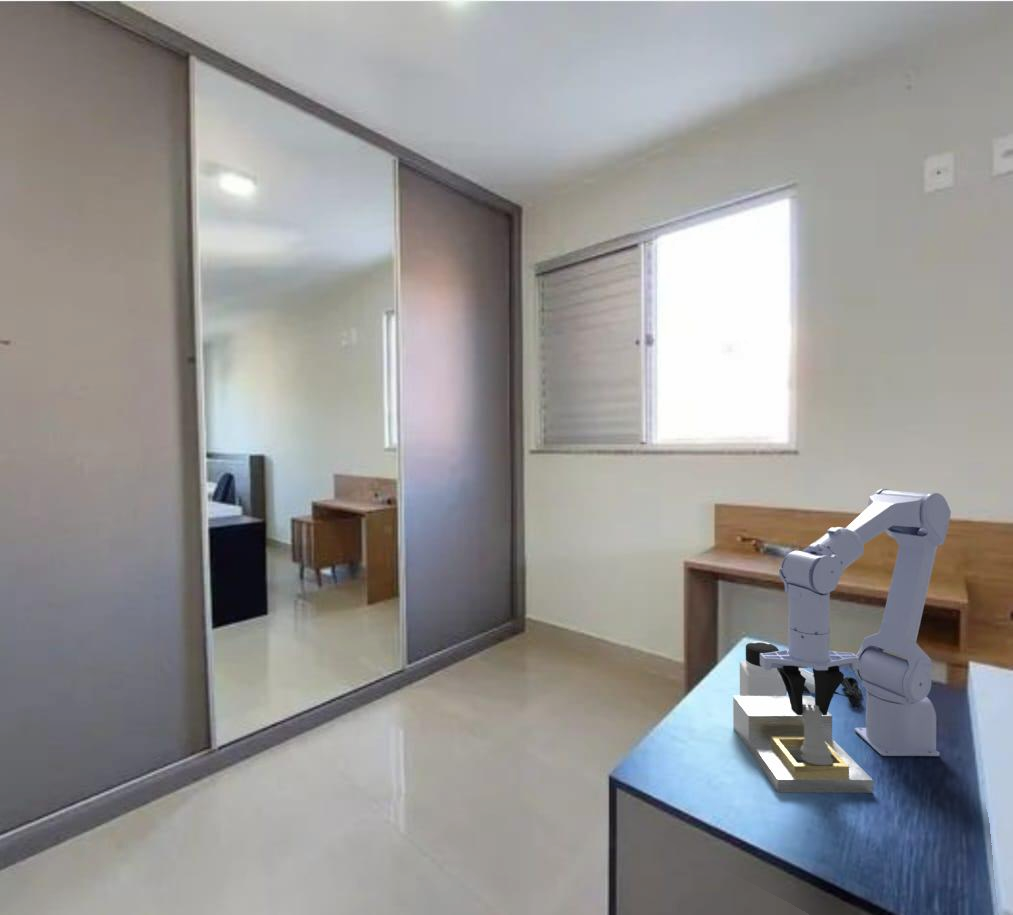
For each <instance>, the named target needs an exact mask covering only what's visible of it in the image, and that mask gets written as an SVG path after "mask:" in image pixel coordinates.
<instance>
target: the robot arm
mask: <svg viewBox="0 0 1013 915" xmlns="http://www.w3.org/2000/svg"><path fill="white" fill-rule="evenodd" d="M867 506H868V507H867V508H865V509H864V510H863V511H862V512H861V513H860V514H859V515H858V516H856V518H854V519H853V521H852V522H851V523H849V524H848V525H847V526H846V527H842V526H836V527H833V526H832V527H830V528H829V529H827V530H826V533H825V534H823V535H822V536H821V537H819V538H818V539H817V540H815V541H814V542H812V543H810V544H809V545H808V546H807V547H806V548H805V549H803V550H794V551H791V552H789V553H788V554H786V555H785V556H784V558H782V561H781V566H780V568H778V574H779V577H780V579H781V581H782V583H783V585H784V593H786V596H787V597H788V602H787V603H788V605H787V606H788V607H787V612H788V614H787V616H788V617H787V618H788V623H787V625H788V631H787V632H788V649H782V650H779V651H776V652H771V653H760V665H761V667H762V668H764V669H765V670H771V668H777V670H778V672H779V673H780V675H781V677H782V679H783V682H784V684H785V687H786V693H787V694H788V695H787V696H789V699H790V704H791V709H792V710H793V711H794V712H795V713H796V714H797V715H802V711H803V699H802V698H803V696H804V694H803V693H804V691H803V689H804V684H805V681H806V679H805V678H804V677H803V676H802V675H801V671H799V668H802V669H808V668H809V669H812V673H813V674H814V681H815V694H814V699H815V705H816V706H819V710H820V711H821V712H822V715H827V712H829V708H830V704H831V702H832V700H833V697H834V695H835V694H836V693H835V692H837V690H838V688H839V687H840V685H842V684H841V683H842V682H843V680H844V678H845V676H844V673H843V672H842V671H840V668H843V669H844V668H845V669H846V668H847V669H849V668H850V669H851V670H854V673H855V675H856V677H857V678H858V679H859V680H860V681H861V687H862V688H865V727H855V728H854V731H855V732H856V733H857V734H858V736H860V737H861V738H862V739H863V740H864V741H866V743H868V744H869V745H870V746H871V747H872V749H874V750H875V751H876V752H877V753H878V754H880V756H883V757H939V756H940V752H939V751H937V713H936V710H935V707H934V704H933V703H932V702H931V699H929V697H927V696H929V694H930V691H931V688H932V676H931V674H932V673H931V669H932V662H933V661H932V659H931V658H930V657H929V655H928V654H927V653H926V652H925V651H924V650H923V649H922V648H921V646H919V644H918V643H917V639H918V635H919V630H920V626H921V623H922V621H921V620H922V617H923V612H924V607H925V604H926V598H927V594H928V591H929V586H930V582H931V576H932V571H933V568H934V563H935V560H936V559H935V558H936V554H937V550H938V547H939V546H941V545H944V544H945V541H946V537H947V534H948V529H949V524H950V520H951V513H952V511H951V510H950V509H951V508H950V506H949V504H948V501H947V500H946V498H945V496H944V495H943V494H941V493H938V492H930V493H929V492H917V491H905V490H897V489H896V490H895V489H888V488H881V489H878V490H876V492H874V494H872V495H870V496H869V499H868V504H867ZM884 532H885V533H886V534H887V535H888V536H889V537H891V538H892V539H894V540H895V541H896V544H898V551H897V556H896V558H895V559H896V560H895V564H894V568H893V573H892V577H891V582H890V586H889V590H888V594H887V599H886V603H885V607H884V611H883V614H882V615H883V616H882V620H881V625H880V628H879V632H877V633H876V632H875V633H873V634H871V635H868V636H865V637H864V638H863V640H862V643H861V647H860V648H859V649H858V652H857V653H856V654H855V653H853V652H844V651H833V650H830V646H831V645H830V643H831V641H830V640H831V636H830V632H831V631H830V630H831V629H830V627H831V626H830V624H831V623H830V622H831V620H830V619H831V618H830V617H831V615H830V610H831V606H830V605H831V604H830V601H831V599H830V598H831V597H830V595H831V592H833V591H835V590H836V588H837V586H838V584H839V581H840V579H841V577H842V576H843V574H844V570H845V569H847V568H848V567H849V566H851V565H852V564H853V563H854V562H856V561H857V560H858V559H860V558H861V557H862V556H863V554H864V552H865V547H864V545H865V544H866V543H868V542H869V541H871V540H873V539H874V538H876V537H878V536H879V535H880V534H882V533H884ZM886 651H888V652H891V653H893V654H891V653H888V652H886ZM894 654H896V655H894ZM897 655H898V656H897ZM899 656H901V657H899ZM902 657H904V658H902Z"/></svg>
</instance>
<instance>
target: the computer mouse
mask: <svg viewBox="0 0 1013 915" xmlns="http://www.w3.org/2000/svg"><path fill="white" fill-rule="evenodd" d="M799 671H801V675H802V676H803V677H804V678H805V679H806V681H805V684H804V689H803V692H805V691H806V693H809V694H812V693H813V694H812V695H815V681H814V674H813V672H811V671H809V670H807V669H806V668H799ZM840 685H841V686H842V687H843V688H844V689H845V693H843V694H844V695H847V696H846V697H847V698H848V702H849V704H850V706H853V707H852V708H854V706H855V704H856V706H861V704H862V703H861V702H860V701H861V700H862V699H863V698H862V695H863V693H862V692H863V691H862V689H861V688H860V687H859V686H858V685H859V682H858V680H857V679H856V678H854V677H851V676H849V677H848V676H847V677H844V680H843V682H842V683H841V684H840ZM836 693H839V692H838V691H835V693H834V694H836ZM844 695H843V696H844Z"/></svg>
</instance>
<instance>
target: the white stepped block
mask: <svg viewBox="0 0 1013 915" xmlns="http://www.w3.org/2000/svg"><path fill="white" fill-rule="evenodd" d="M732 698H733V703H732V704H733V705H732V706H733V708H732V710H733V712H732V713H733V714H732V716H733V718H732V719H733V720H732V721H733V729H734V731H735V732H736V734H737V733H738V734H737V735H738V737H739V738H740V739H741V741H742V742H743V744H744V745H745V747H746V749H748V751H749V753H750V754H751V756H752V757H753V758H754V760H755V762H756V763H757V764H758V767H759V766H760V769H761V771H763V773H764V774H765V776H766V778H767V780H768V781H770V783H771V785H772V786H773V788H774V789H775V791H776V792H777V793H805V794H807V793H809V794H810V793H813V794H814V793H818V794H819V793H820V794H821V793H824V794H826V793H827V794H830V793H831V794H832V793H833V794H834V793H835V794H837V793H838V794H842V793H843V794H847V793H848V794H873V793H874V780H873V779H872V777H871V776H869V774H868V773H866V772H865V770H864V769H863V768H861V767H860V766H859V764H858V763H857V762H856V761H855V760H854V759H853V758H852V757H851V756H850V755H849V754H848V753H847V752H846V751H845V750H844V749H843V748H842V747H841V746H840V745H839V744H838V743H837V742H836V741H835V740H834V739H833V715H832V714H831V713H830V712H829V711H828V712H827V715H822V716H821V717H820V722H821V723H822V725H821V729H822V734H823V737H824V740H825V743H826V744H827V747H828V748H829V749H830V751H831V753H832V755H831V756H830V757H831V758H832V759H833V762H832V763H831V764H830V765H814V764H810V763H807V762H797V761H799V760H800V761H801V760H802V761H804V760H803V759H802V758H801V755H802V754H803V753H802V752H801V750H800V749H801V746H802V745H803V742H804V724H803V723H802V721H803V716H802V715H797V714H796V713H795V712H794V711H793V710H792V709H791V704H790V699H789V696H788V695H786V696H741V695H733V696H732ZM802 699H803V704H805V705H806V707H808V704H810V705H811V707H812V708H814V706H813V705H815V697H813V696H812V695H803V698H802Z"/></svg>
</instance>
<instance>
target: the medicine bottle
mask: <svg viewBox="0 0 1013 915" xmlns="http://www.w3.org/2000/svg"><path fill="white" fill-rule="evenodd" d="M776 651H780V650H779V649H778V647H777V645H774V644H772V643H769V642H766V641H761V640H760V641H759V640H758V641H757V640H755V641H750V642H748V643H746V645H745V660H740V661H739V694H740V695H739V696H787V689H786V687H785V684H784V682H783V679H782V677H781V675H780V673H779V672H778V670H777V668H771V670H765V669H764V668H762V667H761V665H760V653H771V652H776Z"/></svg>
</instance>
